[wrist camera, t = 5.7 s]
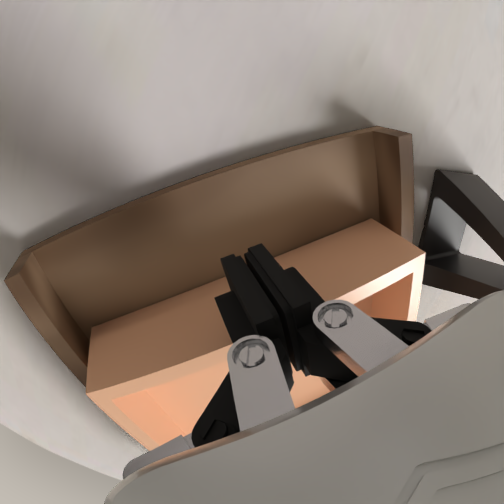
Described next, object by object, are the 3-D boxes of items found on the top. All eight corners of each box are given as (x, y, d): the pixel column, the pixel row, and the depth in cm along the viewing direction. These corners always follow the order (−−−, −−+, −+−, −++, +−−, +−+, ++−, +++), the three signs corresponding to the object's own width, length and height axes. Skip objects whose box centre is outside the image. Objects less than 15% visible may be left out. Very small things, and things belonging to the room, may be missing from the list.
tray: (22, 251, 12) (-4, 293, 9) (376, 125, 15) (426, 137, 12) (197, 463, 26) (207, 494, 22) (373, 386, 29) (392, 411, 26)
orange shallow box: (91, 327, 14) (85, 394, 11) (371, 218, 17) (425, 252, 13) (199, 451, 23) (212, 494, 19) (367, 378, 26) (393, 412, 22)
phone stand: (435, 168, 18) (581, 239, 8) (474, 173, 20) (590, 232, 10) (408, 278, 22) (516, 372, 12) (449, 268, 24) (543, 341, 14)
